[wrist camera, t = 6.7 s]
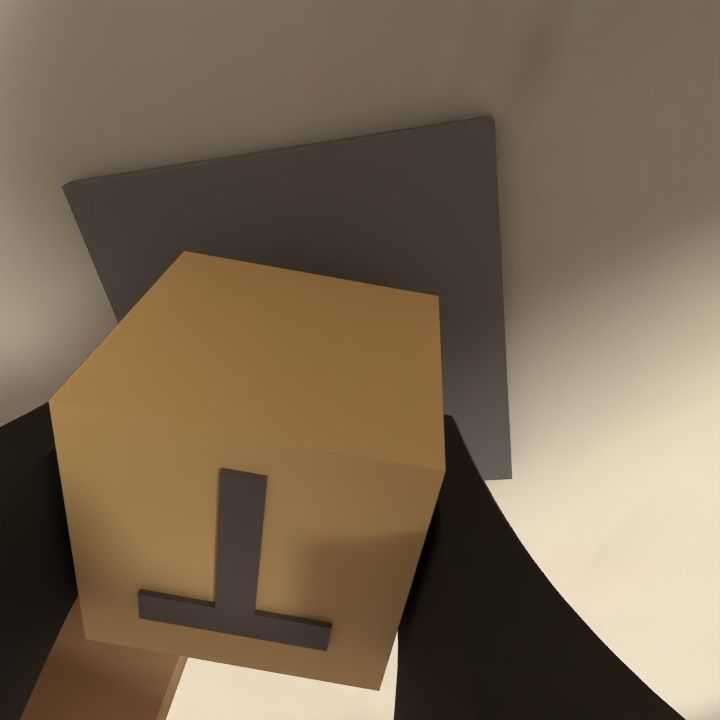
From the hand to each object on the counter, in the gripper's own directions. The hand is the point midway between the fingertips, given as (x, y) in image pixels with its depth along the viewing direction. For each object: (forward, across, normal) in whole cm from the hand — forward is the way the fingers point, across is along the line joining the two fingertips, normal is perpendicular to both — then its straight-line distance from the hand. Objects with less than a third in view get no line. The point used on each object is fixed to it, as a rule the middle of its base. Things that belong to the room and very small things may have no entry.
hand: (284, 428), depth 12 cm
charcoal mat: (+3, 0, 0) cm, 3 cm away
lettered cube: (+2, 0, 0) cm, 2 cm away
